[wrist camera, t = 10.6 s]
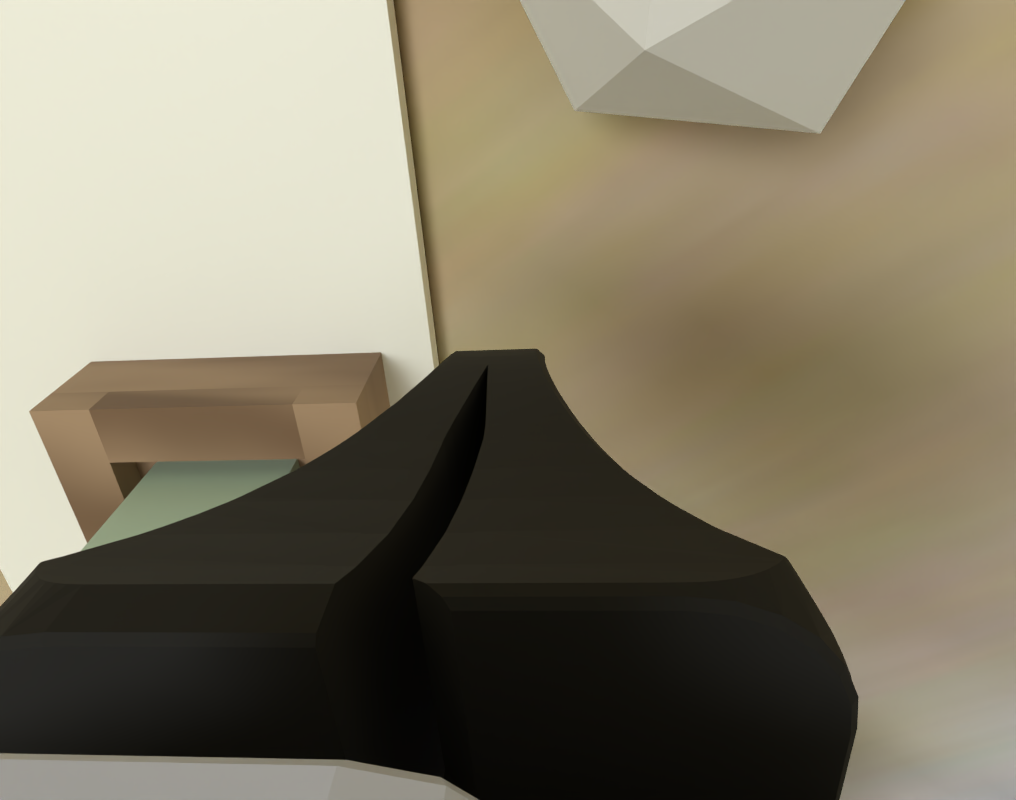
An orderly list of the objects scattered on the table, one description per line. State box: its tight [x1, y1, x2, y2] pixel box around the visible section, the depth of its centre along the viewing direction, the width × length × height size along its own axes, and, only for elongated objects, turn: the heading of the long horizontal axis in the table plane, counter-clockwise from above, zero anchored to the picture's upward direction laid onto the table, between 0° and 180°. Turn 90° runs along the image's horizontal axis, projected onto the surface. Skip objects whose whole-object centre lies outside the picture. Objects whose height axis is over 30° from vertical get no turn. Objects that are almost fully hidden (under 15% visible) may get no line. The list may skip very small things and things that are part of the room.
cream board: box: [0, 0, 439, 592], centre depth 22 cm, size 22×17×1 cm
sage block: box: [81, 459, 300, 551], centre depth 20 cm, size 4×4×4 cm
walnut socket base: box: [29, 352, 390, 543], centre depth 23 cm, size 9×9×3 cm
